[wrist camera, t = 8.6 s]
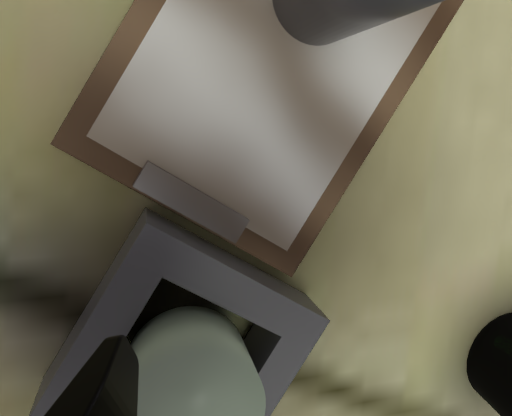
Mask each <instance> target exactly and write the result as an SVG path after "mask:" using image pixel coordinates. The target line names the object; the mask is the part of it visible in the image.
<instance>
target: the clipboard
mask: <svg viewBox="0 0 512 416" xmlns="http://www.w3.org/2000/svg"><path fill="white" fill-rule="evenodd" d="M463 1H464V0H445V1H442V2H440V3H437V4H434V5H432V6H429V7H426V8H424V9H421V10H418V11H416V12H413V13H410V14H408V15H405V16H402V17H400V18H397V19H394V20H392V21H389V22H386V23H384V24H381V25H378V26H376V27H373V28H370V29H368V30H365V31H362V32H360V33H357V34H354V35H352V36H349V37H346V38H344V39H341V40H338V41H336V42H333V43H330V44H327V45H321V46H315V45H309V44H305V43H302V42H300V41H298V40H296V39H295V38H293V37H292V36H291V35H290V34H289V33H288V32H287V31H286V30H285V29H284V28H283V26H282V25H281V23H280V22H279V20H278V18H277V16H276V13H275V10H274V7H273V2H272V0H134V2H133V4H132V6H131V7H130V9H129V11H128V12H127V14H126V16H125V17H124V19H123V21H122V23H121V24H120V26H119V28H118V29H117V31H116V33H115V35H114V36H113V38H112V40H111V41H110V43H109V45H108V47H107V48H106V50H105V52H104V53H103V55H102V57H101V58H100V60H99V62H98V64H97V65H96V67H95V69H94V70H93V72H92V74H91V76H90V77H89V79H88V81H87V82H86V84H85V86H84V88H83V89H82V91H81V93H80V94H79V96H78V98H77V99H76V101H75V103H74V105H73V106H72V108H71V110H70V111H69V113H68V115H67V117H66V118H65V120H64V122H63V123H62V125H61V127H60V129H59V130H58V132H57V134H56V135H55V137H54V139H53V140H52V142H51V145H53V146H55V147H57V148H58V149H60V150H62V151H64V152H66V153H67V154H69V155H71V156H73V157H75V158H77V159H78V160H80V161H82V162H84V163H86V164H87V165H89V166H91V167H93V168H95V169H96V170H98V171H100V172H102V173H104V174H106V175H107V176H109V177H111V178H113V179H115V180H116V181H118V182H120V183H122V184H124V185H125V186H127V187H129V188H131V189H133V190H134V191H136V192H138V193H140V194H142V195H144V196H145V197H147V198H149V199H151V200H153V201H154V202H156V203H158V204H160V205H162V206H163V207H165V208H167V209H169V210H171V211H173V212H174V213H176V214H178V215H180V216H182V217H183V218H185V219H187V220H189V221H191V222H192V223H194V224H196V225H198V226H200V227H201V228H203V229H205V230H207V231H209V232H211V233H212V234H214V235H216V236H218V237H220V238H221V239H223V240H225V241H227V242H229V243H230V244H232V245H234V246H236V247H238V248H240V249H241V250H243V251H245V252H247V253H249V254H250V255H252V256H254V257H256V258H258V259H259V260H261V261H263V262H265V263H267V264H268V265H270V266H272V267H274V268H276V269H278V270H279V271H281V272H283V273H285V274H287V275H288V276H290V277H292V276H293V274H294V272H295V271H296V269H297V268H298V266H299V264H300V263H301V261H302V260H303V258H304V256H305V255H306V253H307V252H308V250H309V248H310V247H311V245H312V244H313V242H314V240H315V239H316V237H317V235H318V234H319V232H320V231H321V229H322V227H323V226H324V224H325V223H326V221H327V219H328V218H329V216H330V215H331V213H332V211H333V210H334V208H335V207H336V205H337V203H338V202H339V200H340V199H341V197H342V195H343V194H344V192H345V190H346V189H347V187H348V186H349V184H350V182H351V181H352V179H353V178H354V176H355V174H356V173H357V171H358V170H359V168H360V166H361V165H362V163H363V162H364V160H365V158H366V157H367V155H368V154H369V152H370V150H371V149H372V147H373V146H374V144H375V142H376V141H377V139H378V137H379V136H380V134H381V133H382V131H383V129H384V128H385V126H386V125H387V123H388V121H389V120H390V118H391V117H392V115H393V113H394V112H395V110H396V109H397V107H398V105H399V104H400V102H401V101H402V99H403V97H404V96H405V94H406V92H407V91H408V89H409V88H410V86H411V84H412V83H413V81H414V80H415V78H416V76H417V75H418V73H419V72H420V70H421V68H422V67H423V65H424V64H425V62H426V60H427V59H428V57H429V56H430V54H431V52H432V51H433V49H434V48H435V46H436V44H437V43H438V41H439V39H440V38H441V36H442V35H443V33H444V31H445V30H446V28H447V27H448V25H449V23H450V22H451V20H452V19H453V17H454V15H455V14H456V12H457V11H458V9H459V7H460V6H461V4H462V3H463Z"/></svg>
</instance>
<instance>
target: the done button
mask: <svg viewBox="0 0 512 416" xmlns="http://www.w3.org/2000/svg"><path fill="white" fill-rule="evenodd" d="M130 345H131V346H132V348H133V350H134V352H135V354H136V355H137V358H138V362H139V380H138V407H137V416H265V409H266V396H265V390H264V387H263V384H262V381H261V379H260V377H259V375H258V373H257V370H256V368H255V366H254V364H253V361H252V359H251V357H250V355H249V353H248V350H247V348H246V346H245V344H244V341H243V339H242V337H241V335H240V333H239V331H238V329H237V328H236V327H235V325H234V324H233V323H232V322H231V321H230V320H229V319H228V318H227V317H225V316H224V315H222V314H221V313H219V312H217V311H214V310H212V309H209V308H205V307H199V306H184V307H178V308H174V309H170V310H168V311H165V312H163V313H161V314H159V315H157V316H155V317H154V318H152V319H151V320H149V321H148V322H147V323H146V324H145V325H144V326H143V327H142V328H141V329H140V330H139V331H138V332H137V334H136V335H135V337H134V338H133V340H132V342H131V344H130Z"/></svg>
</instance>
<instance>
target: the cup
mask: <svg viewBox="0 0 512 416" xmlns="http://www.w3.org/2000/svg"><path fill="white" fill-rule="evenodd" d="M467 374H468V378H469V381H470V383H471V385H472V387H473V388H474V389H475V390H476V391H477V392H478V393H479V394H480V395H481V396H482V397H483V398H484V399H485V400H486V401H487V402H488V403H489V404H490V405H491V406H492V407H493V408H494V409H495V410H496V411H497V412H498V414H499V415H500V416H512V313H508V314H505V315H502V316H499V317H498V318H496V319H495V320H493V321H491V322H490V323H489V324H488V325H487V326H486V327H484V328H483V329H482V330H481V332H480V333H479V334H478V336H477V337H476V339H475V340H474V342H473V344H472V346H471V349H470V351H469V355H468V359H467Z"/></svg>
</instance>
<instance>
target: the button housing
mask: <svg viewBox="0 0 512 416" xmlns="http://www.w3.org/2000/svg"><path fill="white" fill-rule="evenodd" d="M161 278H164V279H166V280H168V281H170V282H172V283H174V284H176V285H178V286H180V287H182V288H184V289H186V290H188V291H190V292H192V293H194V294H196V295H198V296H200V297H202V298H204V299H206V300H208V301H210V302H212V303H214V304H216V305H218V306H220V307H222V308H224V309H226V310H228V311H230V312H232V313H234V314H236V315H238V316H241V317H243V318H245V319H247V320H249V321H251V322H253V323H254V324H253V326H252V328H251V329H250V331H249V332H248V334H247V336H246V337H245V339H244V344H245V346H246V348H247V350H248V353H249V355H250V357H251V359H252V361H253V364H254V366H255V368H256V370H257V373H258V375H259V377H260V379H261V381H262V384H263V387H264V390H265V396H266V409H265V416H270V415H271V414H272V412H273V411H274V409H275V407H276V406H277V404H278V403H279V401H280V399H281V398H282V396H283V395H284V393H285V392H286V390H287V388H288V387H289V385H290V384H291V382H292V380H293V379H294V377H295V376H296V374H297V372H298V371H299V369H300V368H301V366H302V365H303V363H304V361H305V360H306V358H307V357H308V355H309V353H310V352H311V350H312V349H313V347H314V345H315V344H316V342H317V341H318V339H319V338H320V336H321V334H322V333H323V331H324V330H325V328H326V326H327V325H328V323H329V322H330V320H329V319H328V318H327V317H326V316H325V315H324V314H323V312H322V311H321V310H320V309H319V308H318V307H317V306H316V305H315V304H314V303H313V302H312V300H311V299H310V298H309V297H308V296H307V295H306V294H304V293H302V292H300V291H299V290H297V289H295V288H293V287H291V286H289V285H288V284H286V283H284V282H282V281H280V280H278V279H277V278H275V277H273V276H271V275H269V274H267V273H266V272H264V271H262V270H260V269H258V268H256V267H254V266H253V265H251V264H249V263H247V262H245V261H243V260H242V259H240V258H238V257H236V256H234V255H232V254H231V253H229V252H227V251H225V250H223V249H221V248H220V247H218V246H216V245H214V244H212V243H210V242H209V241H207V240H205V239H203V238H201V237H199V236H197V235H196V234H194V233H192V232H190V231H188V230H186V229H185V228H183V227H181V226H179V225H177V224H175V223H174V222H172V221H170V220H168V219H166V218H164V217H163V216H161V215H159V214H157V213H155V212H153V211H152V210H150V209H148V208H146V207H145V209H144V211H143V212H142V214H141V216H140V217H139V219H138V221H137V222H136V224H135V226H134V227H133V229H132V231H131V232H130V234H129V236H128V237H127V239H126V241H125V242H124V244H123V246H122V247H121V249H120V251H119V252H118V254H117V256H116V257H115V259H114V261H113V262H112V264H111V266H110V267H109V269H108V271H107V272H106V274H105V276H104V277H103V279H102V281H101V282H100V284H99V286H98V287H97V289H96V291H95V292H94V294H93V296H92V297H91V299H90V301H89V302H88V304H87V306H86V307H85V309H84V311H83V312H82V314H81V316H80V317H79V319H78V321H77V322H76V324H75V326H74V327H73V329H72V331H71V332H70V334H69V336H68V337H67V339H66V341H65V342H64V344H63V346H62V347H61V349H60V351H59V352H58V354H57V356H56V357H55V359H54V361H53V362H52V364H51V366H50V367H49V369H48V371H47V372H46V374H45V376H44V377H43V379H42V382H41V385H40V387H39V390H38V393H37V395H36V398H35V401H34V403H33V406H32V409H31V411H30V414H29V416H44V415H45V414H46V412H47V411H48V410H49V408H50V407H51V406H52V405H53V403H54V402H55V401H56V400H57V398H58V397H59V396H60V395H61V393H62V392H63V391H64V389H65V388H66V387H67V386H68V384H69V383H70V382H71V381H72V379H73V378H74V377H75V376H76V374H77V373H78V372H79V370H80V369H81V368H82V367H83V365H84V364H85V363H86V362H87V360H88V359H89V358H90V357H91V355H92V354H93V353H94V351H95V350H96V349H97V348H98V346H99V345H100V344H101V343H102V341H103V340H104V339H105V338H107V337H111V336H117V335H124V336H127V334H128V333H129V331H130V329H131V328H132V326H133V325H134V323H135V321H136V320H137V318H138V316H139V315H140V313H141V311H142V310H143V308H144V306H145V305H146V303H147V302H148V300H149V298H150V297H151V295H152V293H153V292H154V290H155V288H156V287H157V285H158V283H159V282H160V280H161Z"/></svg>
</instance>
